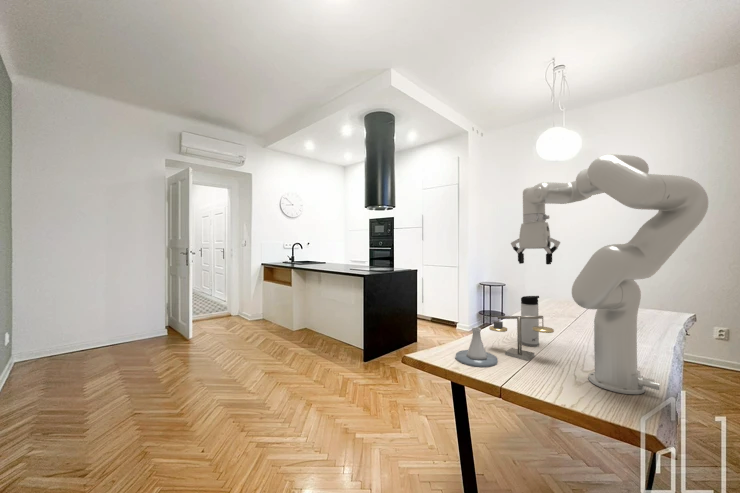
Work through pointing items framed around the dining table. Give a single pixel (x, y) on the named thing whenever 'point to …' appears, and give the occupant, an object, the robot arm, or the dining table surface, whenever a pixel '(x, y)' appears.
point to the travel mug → (529, 321)
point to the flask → (476, 346)
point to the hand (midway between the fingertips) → (534, 263)
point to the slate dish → (466, 360)
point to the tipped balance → (519, 335)
